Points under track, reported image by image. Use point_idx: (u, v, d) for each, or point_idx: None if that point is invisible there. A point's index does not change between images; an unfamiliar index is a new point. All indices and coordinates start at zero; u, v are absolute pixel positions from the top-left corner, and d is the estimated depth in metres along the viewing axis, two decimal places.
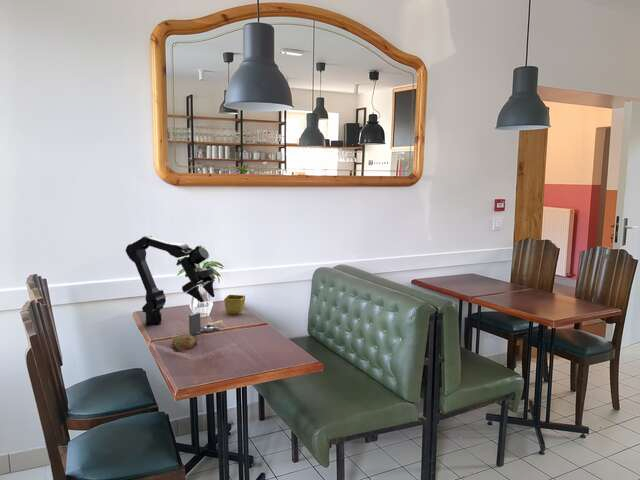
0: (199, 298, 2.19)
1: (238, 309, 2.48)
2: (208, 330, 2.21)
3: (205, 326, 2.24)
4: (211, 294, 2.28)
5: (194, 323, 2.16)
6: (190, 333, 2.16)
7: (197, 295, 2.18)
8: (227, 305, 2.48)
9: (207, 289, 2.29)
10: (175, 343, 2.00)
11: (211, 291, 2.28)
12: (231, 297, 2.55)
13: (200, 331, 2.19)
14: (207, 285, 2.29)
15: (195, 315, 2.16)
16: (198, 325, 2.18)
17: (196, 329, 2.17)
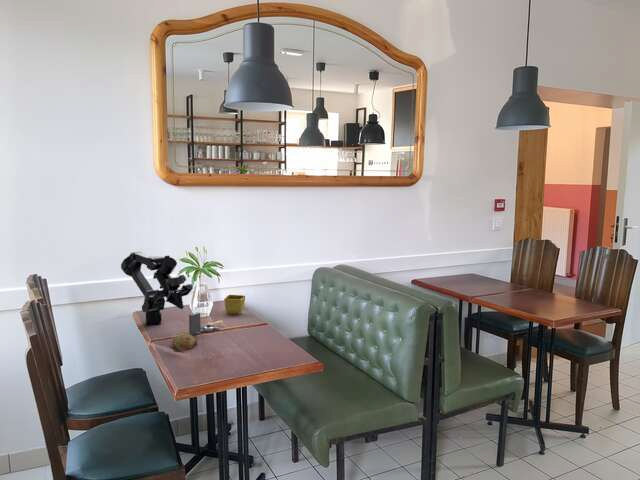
0: (178, 305, 2.20)
1: (238, 309, 2.48)
2: (208, 330, 2.21)
3: (205, 326, 2.24)
4: None
5: (194, 323, 2.16)
6: (190, 333, 2.16)
7: (176, 302, 2.21)
8: (227, 305, 2.48)
9: None
10: (175, 343, 2.00)
11: None
12: (231, 297, 2.55)
13: (200, 331, 2.19)
14: None
15: (195, 315, 2.16)
16: (198, 325, 2.18)
17: (196, 329, 2.17)
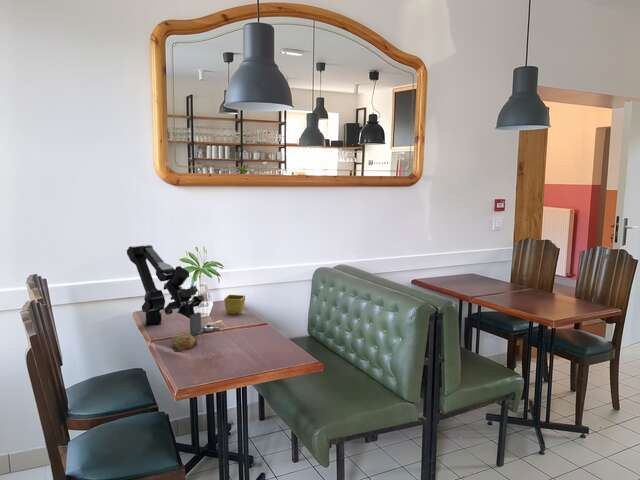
0: None
1: (238, 309, 2.48)
2: (208, 330, 2.21)
3: (205, 326, 2.24)
4: None
5: (194, 324, 2.15)
6: (191, 333, 2.15)
7: (188, 313, 2.17)
8: (227, 305, 2.48)
9: None
10: (175, 343, 2.00)
11: None
12: (231, 297, 2.55)
13: (201, 331, 2.19)
14: None
15: (196, 315, 2.16)
16: (199, 325, 2.18)
17: (197, 329, 2.17)
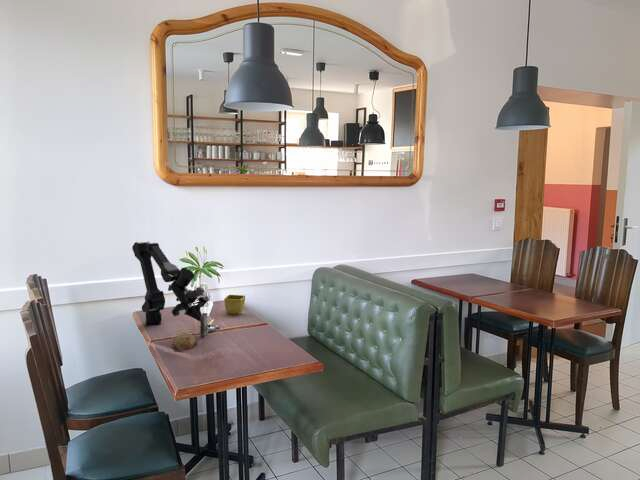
0: (198, 317, 2.16)
1: (238, 309, 2.48)
2: (213, 329, 2.21)
3: None
4: (199, 318, 2.16)
5: (204, 324, 2.15)
6: (202, 335, 2.14)
7: (195, 315, 2.16)
8: (227, 305, 2.48)
9: None
10: (175, 343, 2.00)
11: None
12: (231, 297, 2.55)
13: (207, 332, 2.18)
14: None
15: (205, 316, 2.15)
16: (206, 326, 2.17)
17: (205, 330, 2.16)
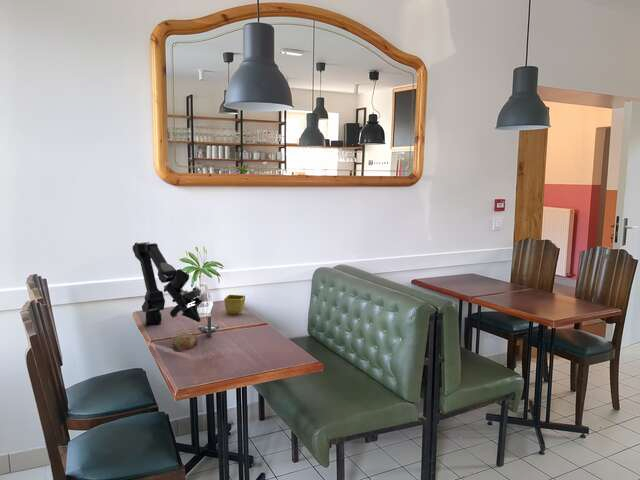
0: (195, 318, 2.17)
1: (238, 309, 2.48)
2: (214, 329, 2.22)
3: (205, 327, 2.23)
4: None
5: None
6: (209, 334, 2.14)
7: (193, 315, 2.16)
8: (227, 305, 2.48)
9: None
10: (175, 343, 2.00)
11: None
12: (231, 297, 2.55)
13: None
14: None
15: (210, 316, 2.15)
16: None
17: None
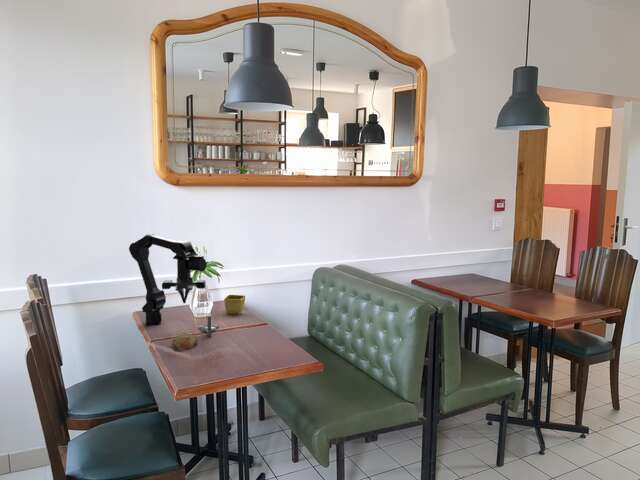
0: None
1: (238, 309, 2.48)
2: (214, 329, 2.22)
3: (205, 327, 2.23)
4: None
5: None
6: (209, 334, 2.14)
7: None
8: (227, 305, 2.48)
9: None
10: (175, 343, 2.00)
11: None
12: (231, 297, 2.55)
13: None
14: None
15: (210, 316, 2.15)
16: None
17: None
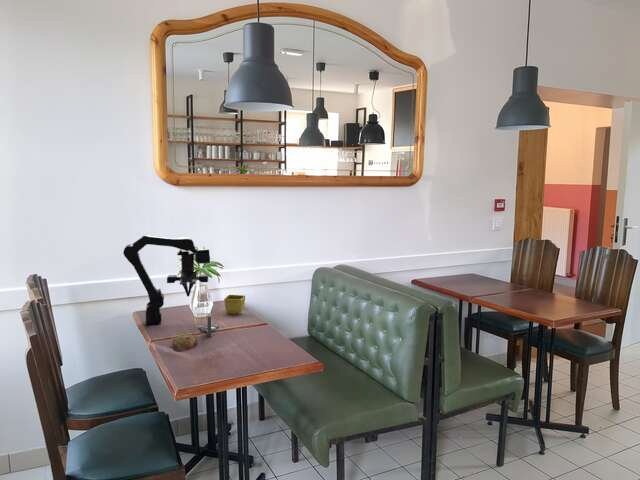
0: (186, 292, 2.38)
1: (238, 309, 2.48)
2: (214, 329, 2.22)
3: (205, 327, 2.23)
4: None
5: None
6: (209, 334, 2.14)
7: (185, 289, 2.38)
8: (227, 305, 2.48)
9: None
10: (175, 343, 2.00)
11: (188, 291, 2.38)
12: (231, 297, 2.55)
13: None
14: None
15: (210, 316, 2.15)
16: None
17: None
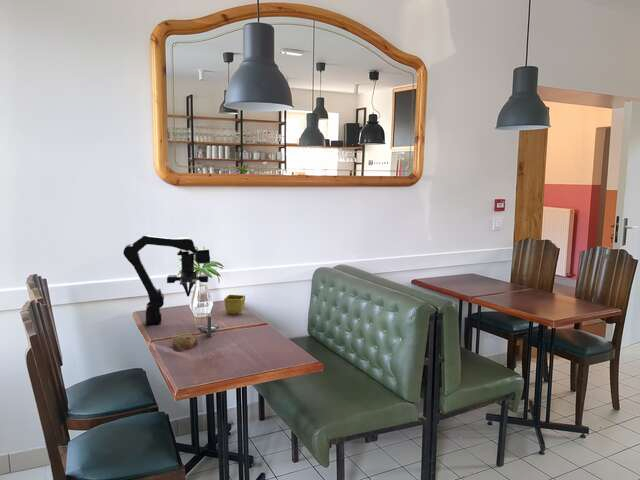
0: (186, 292, 2.38)
1: (238, 309, 2.48)
2: (214, 329, 2.22)
3: (205, 327, 2.23)
4: None
5: None
6: (209, 334, 2.14)
7: (185, 289, 2.38)
8: (227, 305, 2.48)
9: None
10: (175, 343, 2.00)
11: (188, 291, 2.38)
12: (231, 297, 2.55)
13: None
14: None
15: (210, 316, 2.15)
16: None
17: None
